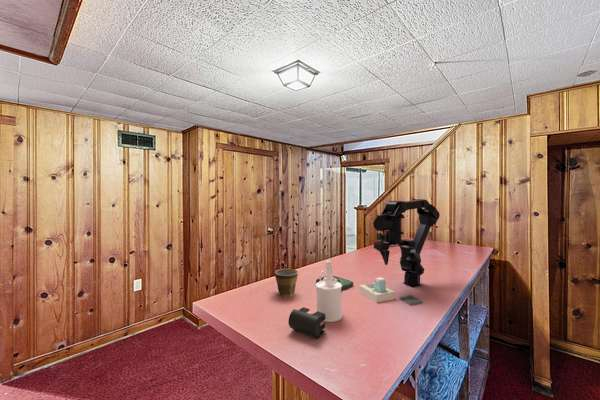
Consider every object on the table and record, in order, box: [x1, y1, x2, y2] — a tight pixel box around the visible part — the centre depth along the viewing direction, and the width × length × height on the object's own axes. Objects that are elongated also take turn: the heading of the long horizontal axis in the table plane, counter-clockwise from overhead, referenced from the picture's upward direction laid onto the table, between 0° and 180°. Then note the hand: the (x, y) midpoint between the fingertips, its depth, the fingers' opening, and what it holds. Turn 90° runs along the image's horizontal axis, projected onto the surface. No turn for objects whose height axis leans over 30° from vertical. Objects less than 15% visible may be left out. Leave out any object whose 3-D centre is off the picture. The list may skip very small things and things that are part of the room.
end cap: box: [288, 306, 326, 339], centre depth 86 cm, size 10×7×7 cm
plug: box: [374, 276, 387, 293], centre depth 112 cm, size 3×3×8 cm
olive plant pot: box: [273, 268, 299, 298], centre depth 119 cm, size 13×10×10 cm
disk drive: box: [315, 275, 354, 292], centre depth 130 cm, size 10×3×15 cm
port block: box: [358, 282, 396, 304], centre depth 115 cm, size 9×12×4 cm
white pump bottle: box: [315, 260, 343, 323], centre depth 98 cm, size 10×9×20 cm
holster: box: [398, 294, 423, 306], centre depth 109 cm, size 6×6×2 cm
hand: (394, 263), depth 121 cm, fingers open, 9 cm apart
